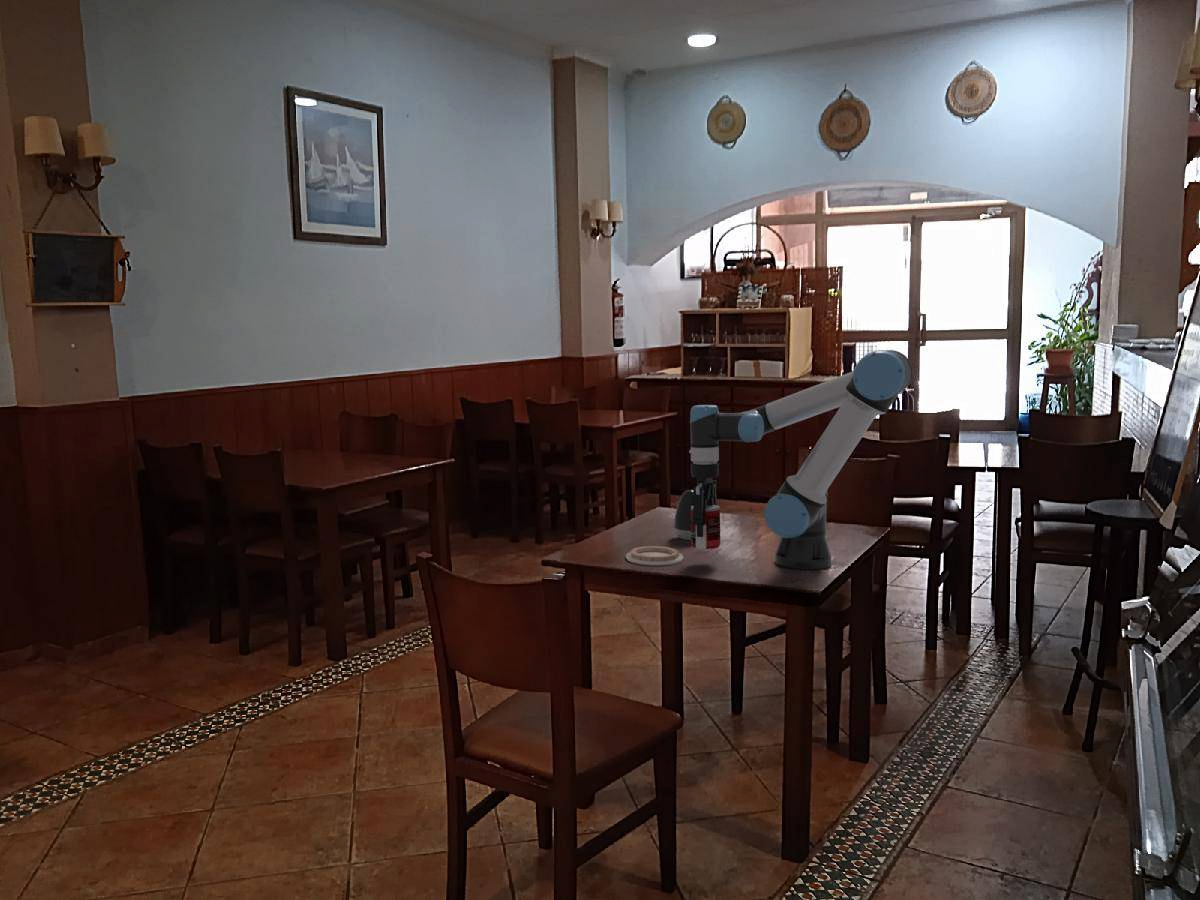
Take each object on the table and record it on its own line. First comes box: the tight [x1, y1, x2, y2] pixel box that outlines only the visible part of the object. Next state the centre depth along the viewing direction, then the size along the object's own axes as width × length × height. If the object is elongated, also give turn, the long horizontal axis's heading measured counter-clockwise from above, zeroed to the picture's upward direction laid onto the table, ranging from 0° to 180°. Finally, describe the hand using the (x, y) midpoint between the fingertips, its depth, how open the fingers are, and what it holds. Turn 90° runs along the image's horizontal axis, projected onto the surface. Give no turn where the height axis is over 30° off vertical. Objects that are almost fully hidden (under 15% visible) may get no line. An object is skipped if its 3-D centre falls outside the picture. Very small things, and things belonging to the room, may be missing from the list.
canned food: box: [690, 504, 721, 550], centre depth 260 cm, size 8×8×11 cm
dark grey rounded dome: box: [673, 489, 694, 541], centre depth 292 cm, size 10×10×15 cm
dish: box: [625, 545, 684, 567], centre depth 267 cm, size 16×16×2 cm
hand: (705, 545), depth 261 cm, fingers closed on canned food, 8 cm apart
